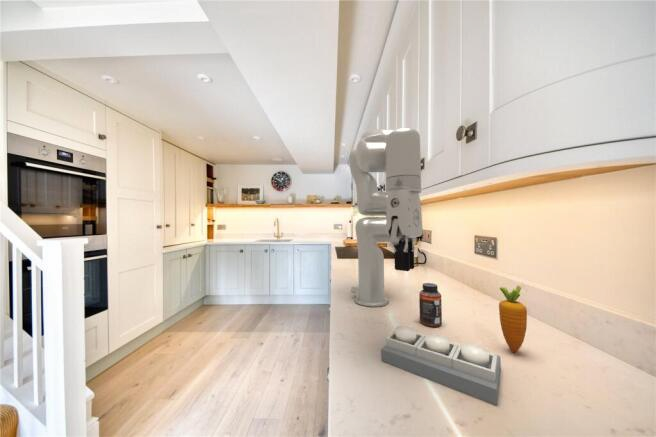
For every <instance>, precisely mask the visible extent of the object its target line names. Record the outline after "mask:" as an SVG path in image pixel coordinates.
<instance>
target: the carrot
mask: <svg viewBox="0 0 656 437" xmlns="http://www.w3.org/2000/svg"><path fill="white" fill-rule="evenodd" d="M521 289H522V287H521V286H520V285H516V287H515V288H513V289H512V291H510V292H509V290H508V288H507V287H505V286H504V287H503V286H500V287H499V290H500V291H501V293H502V294H503V296H504V297H505V300H501V301H499V303H498V311H499V312H498V314H499V324H500V326H501V331H502V334H503V339H504V340H505V342H506V344H507V347H508V348H509V350H510V351H511V353H513V354H515V353H517V352H518V351H519V350H520V348H521V347H522V345H523V343H524V341H525V337H526V333H527V332H526V331H527V327H528V326H527V324H528V310H527V307H526V305H524V303H522V302H521V301H518V299H519V297H520V296H521V294H520V292H521Z"/></svg>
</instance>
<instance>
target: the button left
mask: <svg viewBox="0 0 656 437" xmlns="http://www.w3.org/2000/svg"><path fill="white" fill-rule="evenodd" d="M394 330H395V338H396V340H398V341H401V342H405V343H408V344H414V343H416V341H417V340H416V333H417V329H415V328H414V327H412V326H409V325H398V326H395V329H394Z"/></svg>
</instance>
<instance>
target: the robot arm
mask: <svg viewBox="0 0 656 437" xmlns="http://www.w3.org/2000/svg"><path fill="white" fill-rule="evenodd" d="M420 136H421V135H420V132H419V131H418V130H416V129H415V128H411V127H410V128H409V127H407V128H406V127H405V128H404V127H403V128H398V129H396V128H395V129H393V128H392V129H391V128H383V129H382V128H380V129H379V128H378V129H377V128H376V129H375V128H374V129H369V130H366V131H365V132H364V133H363V134H362V135H361V137H360V140H359V141H358V143H357V146H356V149H353V150H352V151H350V153H349V157H348V163H349V170H350V173H351V176H352V178H353V181H354V183H355V187H356V188H355V189H356V203H357V210H358V212H359V214H360V215H362V216H366V217H361V218H359V219H358V220H357V221H356V223H355V227H354V229H355V230H354V231H355V237H356V242H357V244H356V245H357V259H358V264H357V265H358V266H357V268H358V269H357V270H358V271H357V272H358V273H357V274H358V287H357V286H351V287H350V293H351V294H355V295H356V296H355V297H354V302H355V303H357V305H360V306H364V307H374V308H375V307H376V308H377V307H383V306H387V305H388V304H389V303H390V302H389V300H390V299H389V297H387V296H386V295H385V261H384V260H385V258H384V257H385V256H384V253H383V250H382V249H381V248H380V247H379V246H378V244H379V243H391V244H392V245H393V253H394V270H396V271H403V272H409V271H410V270H414V269H415V240H416V238H418V237H421V236H422V235H423V232H424V231H423V217H422V204H421V198H420V194H421V193H422V174H421V172H422V169H421V168H422V165H421V160H422V159H421V137H420ZM371 173H385V191H379V189H378V182H377V180H376V178H375V177H374V176H373V175H372V174H371ZM372 216H373V217H372Z"/></svg>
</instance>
